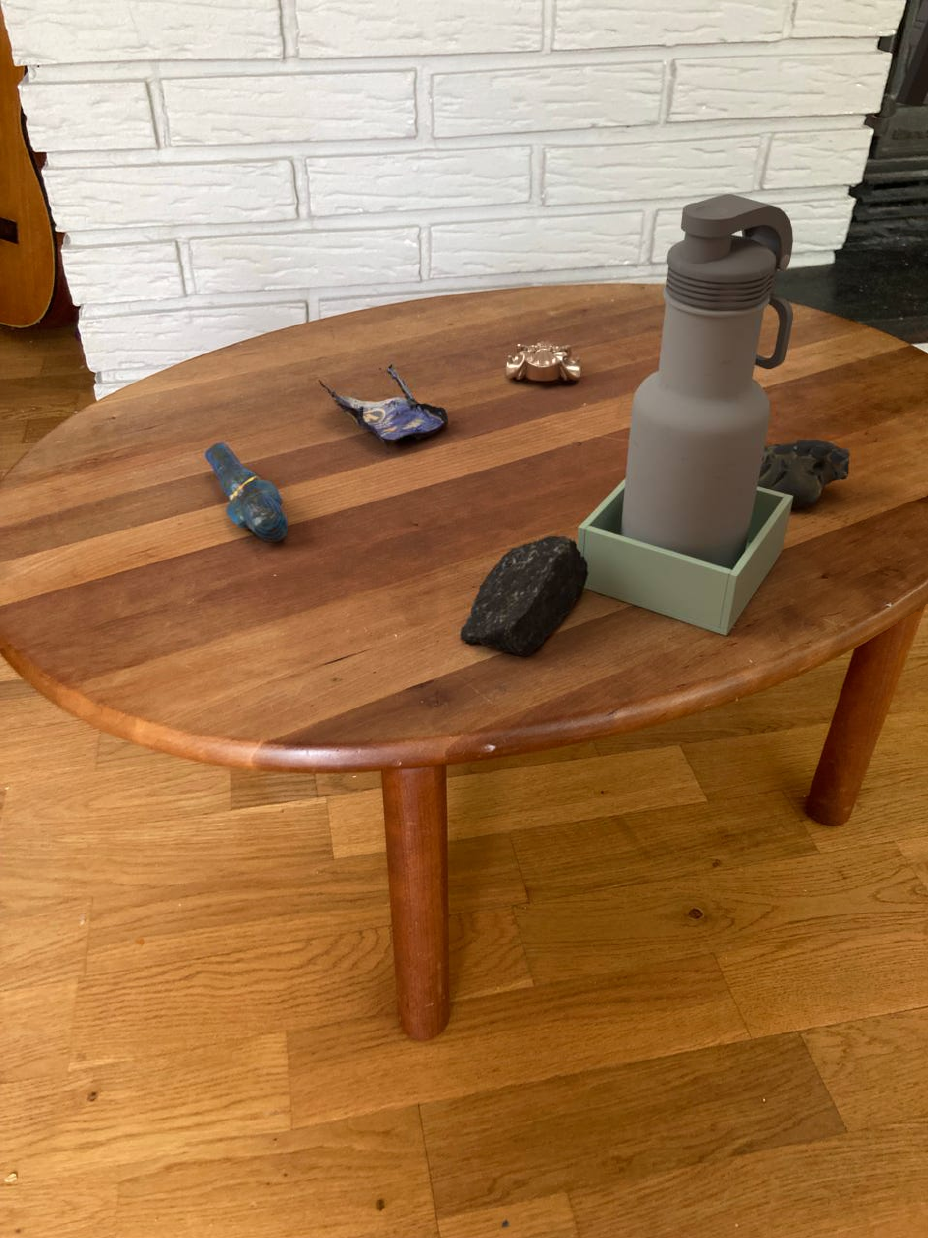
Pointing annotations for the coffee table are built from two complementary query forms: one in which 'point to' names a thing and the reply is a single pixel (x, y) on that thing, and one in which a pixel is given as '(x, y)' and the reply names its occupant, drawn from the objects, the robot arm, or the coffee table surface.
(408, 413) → the snack package
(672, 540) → the water bottle
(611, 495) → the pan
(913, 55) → the robot arm
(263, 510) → the blue long piece
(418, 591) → the coffee table surface
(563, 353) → the ornament
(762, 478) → the stone
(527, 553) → the rock
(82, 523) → the coffee table surface
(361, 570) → the coffee table surface
